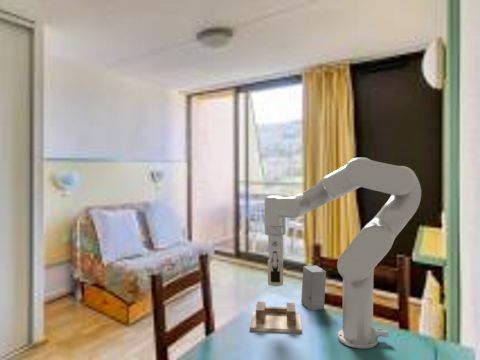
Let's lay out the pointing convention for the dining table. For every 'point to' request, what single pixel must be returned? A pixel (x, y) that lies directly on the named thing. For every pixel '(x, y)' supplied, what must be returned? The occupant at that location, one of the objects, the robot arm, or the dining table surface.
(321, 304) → the skincare box
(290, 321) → the holder
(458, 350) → the dining table surface
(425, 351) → the dining table surface
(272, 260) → the candle
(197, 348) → the dining table surface
